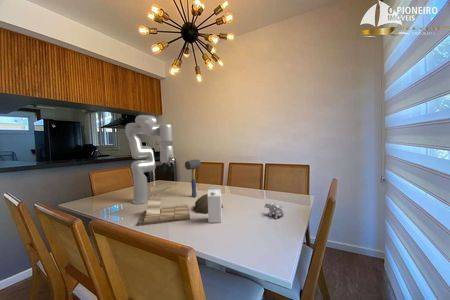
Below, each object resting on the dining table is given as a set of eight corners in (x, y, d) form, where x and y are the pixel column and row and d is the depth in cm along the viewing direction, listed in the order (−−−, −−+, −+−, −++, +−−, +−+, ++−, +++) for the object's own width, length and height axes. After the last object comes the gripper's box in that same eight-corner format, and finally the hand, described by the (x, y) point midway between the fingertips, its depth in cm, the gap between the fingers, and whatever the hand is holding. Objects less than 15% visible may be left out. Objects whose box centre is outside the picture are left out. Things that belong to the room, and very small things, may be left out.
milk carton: (209, 218, 122) (208, 186, 121) (221, 217, 122) (220, 185, 121) (208, 223, 115) (207, 189, 114) (221, 222, 115) (220, 188, 113)
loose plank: (148, 200, 132) (148, 199, 131) (160, 199, 134) (160, 197, 133) (146, 216, 122) (146, 215, 121) (159, 215, 123) (159, 213, 122)
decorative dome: (204, 202, 152) (204, 189, 151) (228, 206, 142) (227, 192, 141) (187, 211, 135) (186, 196, 134) (212, 216, 125) (212, 199, 125)
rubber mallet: (191, 199, 160) (190, 160, 158) (185, 198, 164) (183, 160, 163) (202, 195, 170) (201, 159, 168) (196, 194, 174) (195, 158, 173)
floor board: (144, 213, 133) (143, 208, 133) (188, 208, 140) (188, 204, 139) (138, 225, 114) (138, 220, 114) (190, 219, 120) (189, 214, 120)
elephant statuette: (280, 220, 116) (280, 207, 115) (260, 216, 122) (260, 203, 121) (284, 215, 124) (285, 202, 123) (265, 211, 130) (266, 199, 129)
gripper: (155, 144, 132) (156, 171, 133) (166, 144, 119) (168, 174, 120) (166, 143, 137) (167, 169, 138) (178, 143, 124) (179, 172, 125)
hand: (167, 171), depth 129 cm, fingers open, 9 cm apart
